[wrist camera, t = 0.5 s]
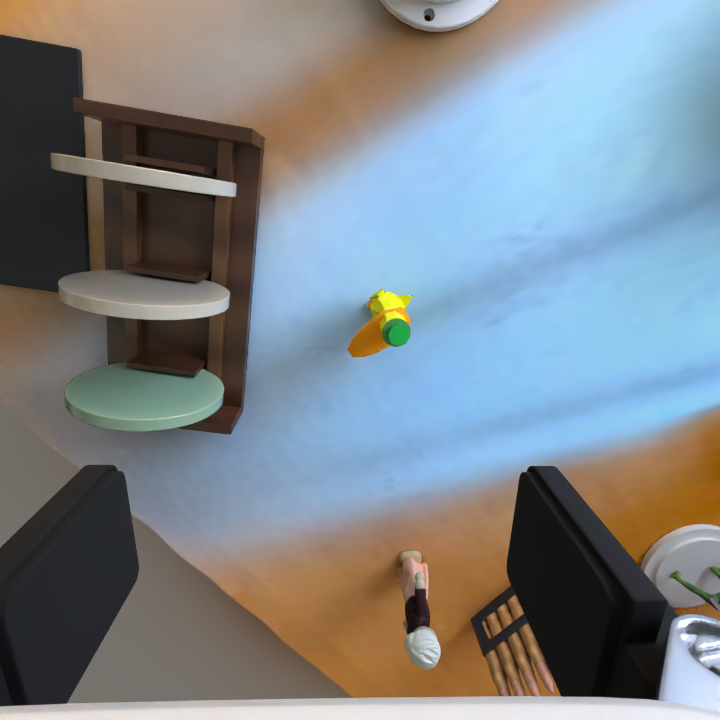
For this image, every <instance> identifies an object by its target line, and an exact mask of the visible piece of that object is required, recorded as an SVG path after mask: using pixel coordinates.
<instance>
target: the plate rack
mask: <svg viewBox="0 0 720 720" xmlns="http://www.w3.org/2000/svg"><path fill="white" fill-rule="evenodd" d="M73 107H74V113H77V114H80V115H83V116H86V117H89V118H92V119H95V120H99V121H102V154H103V161H107V162H113V163H119V164H125V165H131V166H137V167H143V168H149V169H155V170H161V171H167V172H173V173H179V174H185V175H191V176H197V177H203V178H209V179H215V180H221V181H227V182H233V183H237V196H236V197H226V196H217V195H209V194H202V193H194V192H187V191H180V190H173V189H166V188H159V187H153V186H146V185H140V184H133V183H127V182H120V181H114V180H108V179H103V191H104V228H105V266H106V270H126V272H133V273H139V274H146V275H153V276H160V277H166V278H173V279H180V280H187V281H193V282H201V281H203V280H207V281H210V282H214V283H216V284H219V285H221V286H223V287H225V288H226V289H228V290H229V292H230V305H229V308H228V309H227V310H226V311H224V312H222V313H220V314H216V315H213V316H208V317H202V318H195V319H182V320H145V319H131V318H121V317H113V316H107V341H108V365H110V364H116V363H122V362H127V367H128V368H135V369H143V370H150V371H158V372H165V373H173V374H180V375H188V376H196V375H197V374H198V373H199V372H200V371H201V370H202V369H204V370H206V371H209V372H211V373H212V374H214V375H215V376H217V377H218V378H219V379H220V380H221V381H222V383H223V385H224V400H223V403H222V405H221V407H220V408H219V409H218V410H217V411H216V412H215V413H214V414H212V415H210V416H209V417H207V418H205V419H203V420H201V421H198V422H196V423H193V424H190V425H186V426H182V427H178V428H181V429H189V430H197V431H205V432H213V433H221V434H229V435H231V433H232V431H233V429H234V427H235V425H236V423H237V421H238V419H239V417H240V416H241V414H242V412H243V405H244V393H245V380H246V368H247V355H248V342H249V330H250V317H251V304H252V292H253V279H254V266H255V254H256V241H257V228H258V216H259V203H260V190H261V178H262V165H263V152H264V140H265V138H264V137H263V136H261V135H260V134H259V133H257V132H256V131H255V130H253V129H252V128H247V127H241V126H235V125H229V124H224V123H218V122H212V121H206V120H201V119H195V118H189V117H183V116H178V115H172V114H166V113H160V112H155V111H149V110H143V109H137V108H132V107H126V106H120V105H115V104H109V103H103V102H97V101H92V100H86V99H80V98H73Z"/></svg>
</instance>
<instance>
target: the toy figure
mask: <svg viewBox="0 0 720 720" xmlns="http://www.w3.org/2000/svg"><path fill="white" fill-rule="evenodd" d="M412 296H413V295H401V296H396V295H394V294H393V293H391V292H385V291H384V290H383V289H381V290H379V291H378V292H376V293H375V294H374V295H373V296H372V297H371V298H370V299H371V300H370V301H369V303H368V304H367V307H368V309H369V310H371V313H372V317H373V318H372V319H371V320H370V321H369V322H368V323H367V324H366V325H364V326H363V327H362V328H361V329H360V330H359V331H358V332H357V334H356V335H355V336H354V338H353V339H352V341H351V343H350V345H349V347H348V349H347V350H348V351H349V353H350V354H351V355H352V356H353V357H365V356H368V355H372V354H375V353H377V352H379V351H381V350H383V349H385V348H387V347H389V346H395V347H397V346H401V345H403V344H406V342H407V341H408V339H409V338H410V327H409V324H410V322H411V319H410V318H409V316H408V315H407V313H406V312H405V309H406V307H407V305H408V303H409V302H410V300H411V298H412Z"/></svg>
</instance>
